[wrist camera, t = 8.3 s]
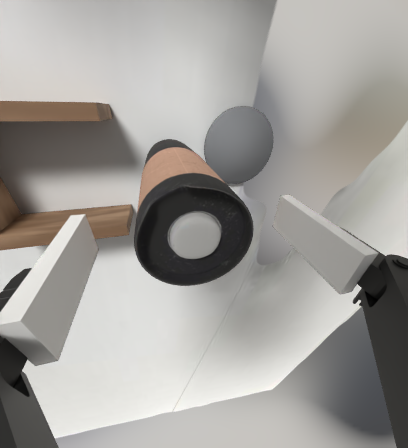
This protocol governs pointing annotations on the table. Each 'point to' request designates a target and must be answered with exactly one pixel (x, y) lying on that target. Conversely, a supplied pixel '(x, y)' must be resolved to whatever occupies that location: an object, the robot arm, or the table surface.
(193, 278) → the travel mug
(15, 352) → the robot arm
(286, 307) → the table surface
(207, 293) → the table surface
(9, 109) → the frame
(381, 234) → the table surface
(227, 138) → the coaster
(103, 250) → the table surface
